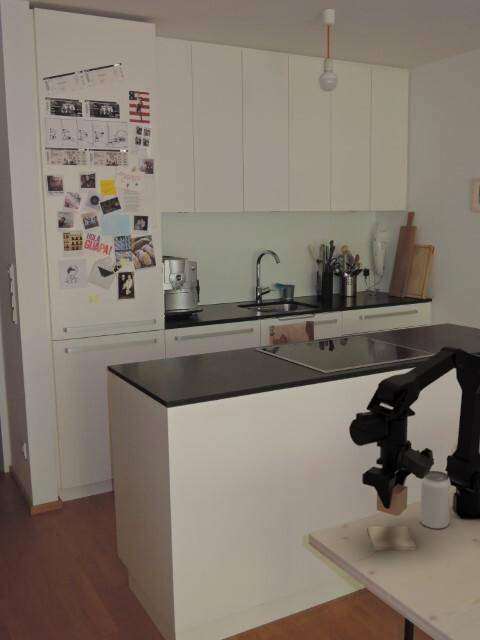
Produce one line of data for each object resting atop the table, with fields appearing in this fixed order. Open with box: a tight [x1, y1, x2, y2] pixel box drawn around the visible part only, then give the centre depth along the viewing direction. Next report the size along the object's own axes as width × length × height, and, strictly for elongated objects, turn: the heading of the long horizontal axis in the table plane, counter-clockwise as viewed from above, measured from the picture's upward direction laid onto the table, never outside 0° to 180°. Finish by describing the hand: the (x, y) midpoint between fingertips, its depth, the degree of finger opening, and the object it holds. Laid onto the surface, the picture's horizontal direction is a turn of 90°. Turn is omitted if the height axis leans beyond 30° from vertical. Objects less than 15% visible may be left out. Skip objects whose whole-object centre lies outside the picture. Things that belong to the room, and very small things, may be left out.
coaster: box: [366, 525, 417, 551], centre depth 146 cm, size 9×9×1 cm
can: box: [419, 470, 451, 530], centre depth 153 cm, size 6×6×12 cm
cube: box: [376, 484, 408, 517], centre depth 145 cm, size 5×5×5 cm
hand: (391, 503), depth 145 cm, fingers closed on cube, 5 cm apart
